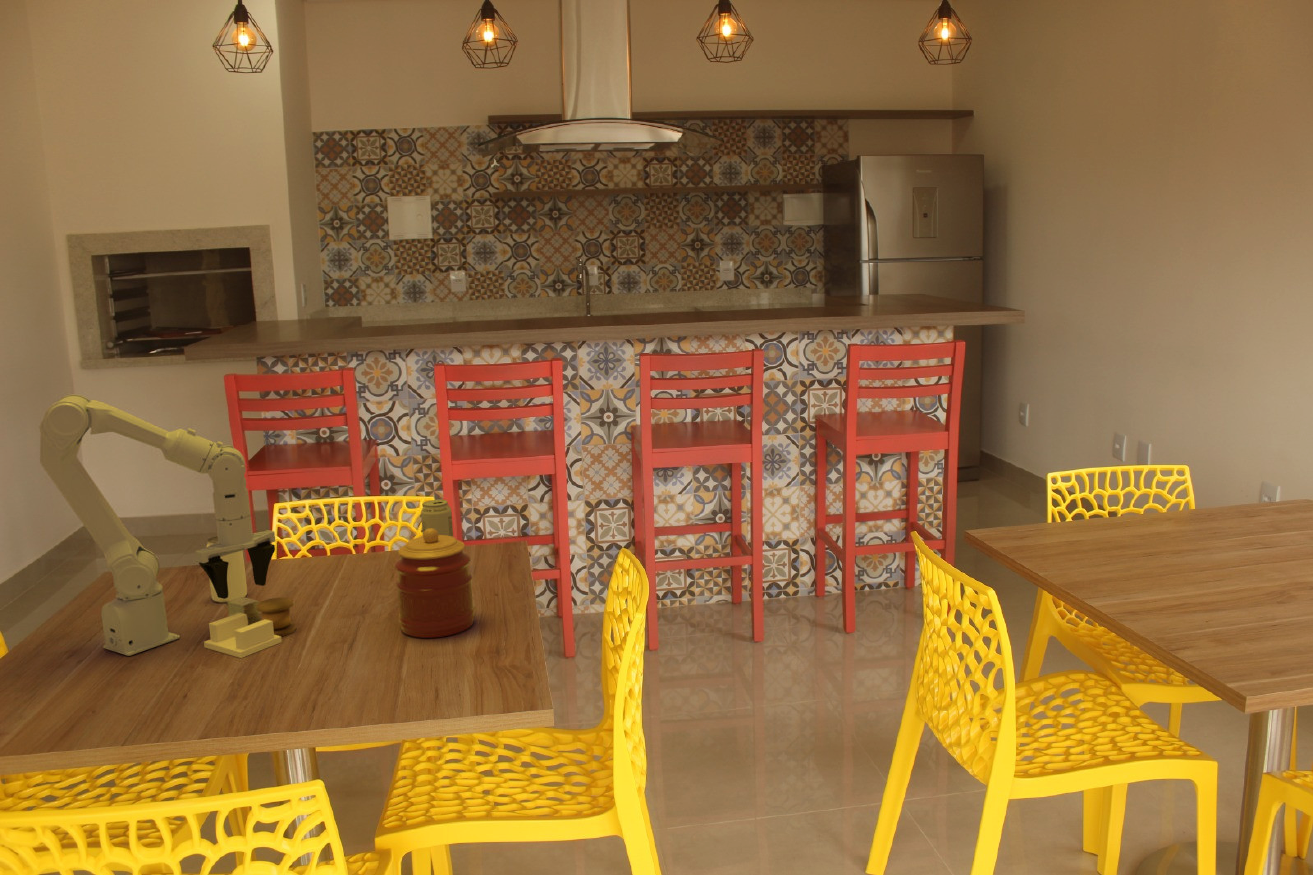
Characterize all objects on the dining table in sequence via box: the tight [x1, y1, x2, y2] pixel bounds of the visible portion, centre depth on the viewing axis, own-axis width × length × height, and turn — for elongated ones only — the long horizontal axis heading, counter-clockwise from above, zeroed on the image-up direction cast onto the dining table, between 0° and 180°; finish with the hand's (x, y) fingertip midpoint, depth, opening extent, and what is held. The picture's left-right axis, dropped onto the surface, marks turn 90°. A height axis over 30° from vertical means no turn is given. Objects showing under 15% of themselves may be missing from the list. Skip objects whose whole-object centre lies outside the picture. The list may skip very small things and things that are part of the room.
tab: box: [227, 596, 261, 625], centre depth 187 cm, size 3×4×5 cm, turn 57°
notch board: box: [203, 613, 282, 659], centre depth 179 cm, size 8×10×4 cm
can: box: [205, 535, 248, 604], centre depth 203 cm, size 6×6×12 cm
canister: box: [394, 528, 476, 639], centre depth 183 cm, size 13×13×18 cm
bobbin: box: [257, 597, 297, 638], centre depth 185 cm, size 6×6×5 cm
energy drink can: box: [420, 499, 454, 537], centre depth 213 cm, size 6×6×15 cm
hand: (242, 591), depth 186 cm, fingers open, 7 cm apart
